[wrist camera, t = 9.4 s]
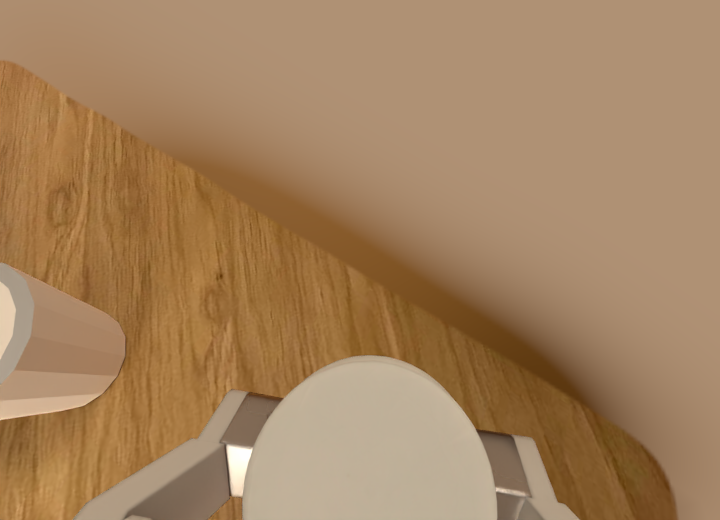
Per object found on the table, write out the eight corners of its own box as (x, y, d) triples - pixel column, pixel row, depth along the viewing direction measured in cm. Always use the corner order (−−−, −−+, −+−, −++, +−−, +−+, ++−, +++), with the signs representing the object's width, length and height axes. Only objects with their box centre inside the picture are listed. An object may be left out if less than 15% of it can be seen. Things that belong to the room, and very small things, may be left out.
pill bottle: (285, 416, 14) (168, 436, 6) (389, 349, 15) (406, 288, 7) (349, 547, 12) (305, 806, 4) (461, 463, 13) (596, 556, 5)
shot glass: (11, 328, 21) (-146, 296, 15) (125, 282, 22) (24, 233, 16) (20, 445, 19) (-161, 468, 13) (147, 389, 20) (40, 384, 13)
